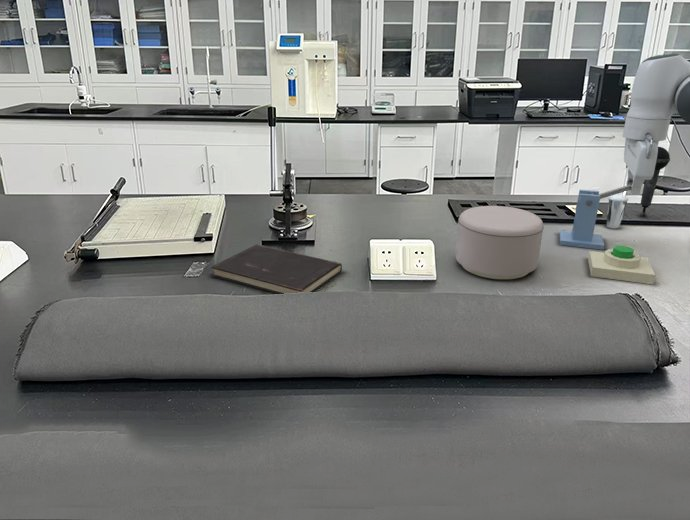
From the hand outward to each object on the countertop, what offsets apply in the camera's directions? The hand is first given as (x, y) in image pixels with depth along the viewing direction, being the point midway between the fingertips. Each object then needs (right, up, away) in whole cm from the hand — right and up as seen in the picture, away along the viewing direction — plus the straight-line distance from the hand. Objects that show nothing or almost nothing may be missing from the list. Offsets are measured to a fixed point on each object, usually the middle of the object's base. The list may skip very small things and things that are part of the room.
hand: (632, 189), depth 126 cm
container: (-34, -18, -6) cm, 39 cm away
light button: (-8, -16, -10) cm, 20 cm away
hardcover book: (-83, -20, -10) cm, 86 cm away
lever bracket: (-9, -12, +8) cm, 17 cm away
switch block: (-8, -19, -9) cm, 22 cm away
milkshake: (+5, -8, +20) cm, 22 cm away
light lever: (-4, -2, +2) cm, 5 cm away
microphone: (+18, -4, +28) cm, 34 cm away
